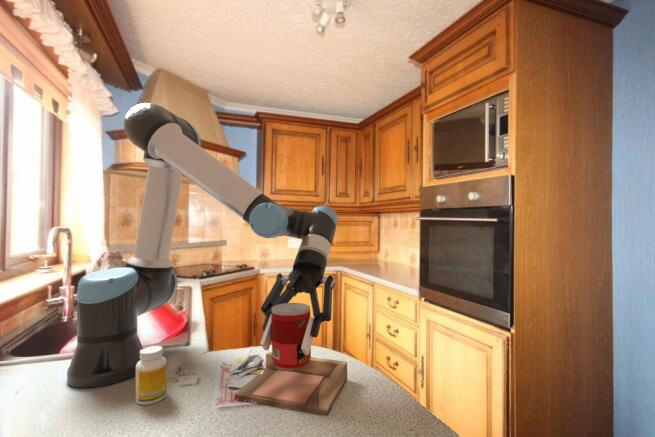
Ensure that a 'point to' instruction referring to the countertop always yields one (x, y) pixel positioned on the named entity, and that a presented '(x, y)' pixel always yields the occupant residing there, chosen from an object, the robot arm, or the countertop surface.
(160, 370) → the supplement bottle
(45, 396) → the countertop surface
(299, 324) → the canned food
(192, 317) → the countertop surface
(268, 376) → the wooden tray
